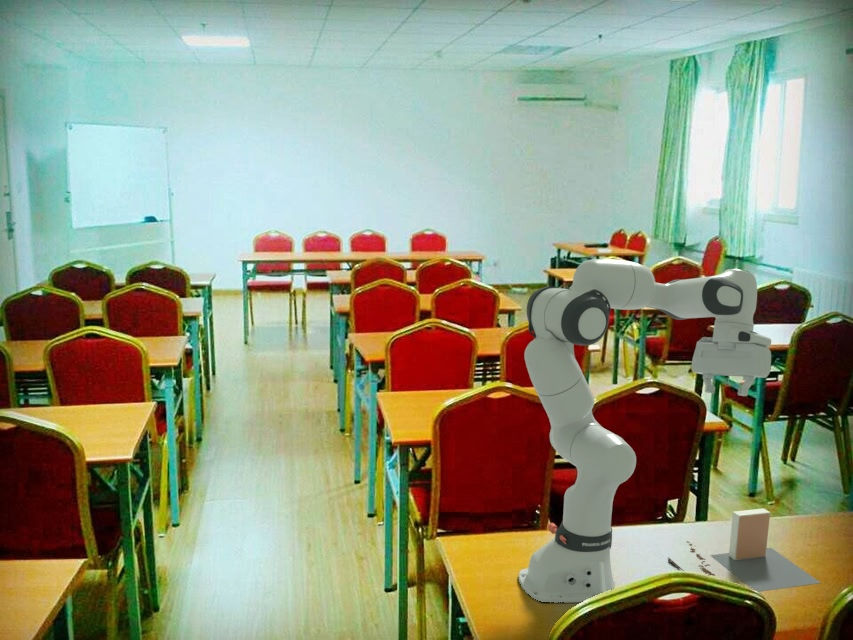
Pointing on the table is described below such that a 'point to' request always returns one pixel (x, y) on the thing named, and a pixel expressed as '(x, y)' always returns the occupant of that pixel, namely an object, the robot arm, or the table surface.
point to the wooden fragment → (698, 558)
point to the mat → (766, 571)
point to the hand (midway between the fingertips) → (725, 394)
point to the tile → (749, 534)
